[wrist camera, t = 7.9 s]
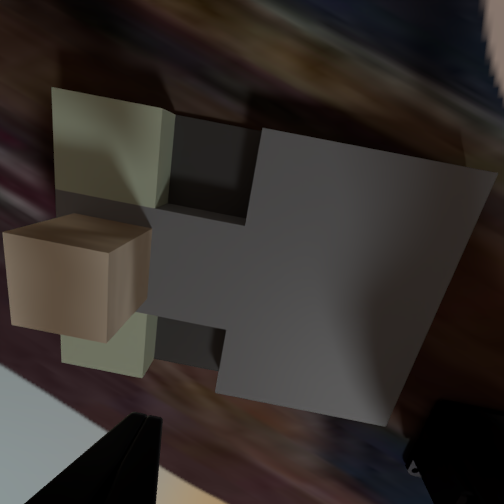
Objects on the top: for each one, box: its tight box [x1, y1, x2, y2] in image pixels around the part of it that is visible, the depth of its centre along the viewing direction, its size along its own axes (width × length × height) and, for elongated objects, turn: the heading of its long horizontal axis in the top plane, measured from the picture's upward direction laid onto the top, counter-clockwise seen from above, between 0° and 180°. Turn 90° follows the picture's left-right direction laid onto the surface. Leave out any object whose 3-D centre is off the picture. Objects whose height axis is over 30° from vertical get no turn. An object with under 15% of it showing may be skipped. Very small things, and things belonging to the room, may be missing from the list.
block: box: [3, 213, 152, 344], centre depth 13 cm, size 4×4×4 cm
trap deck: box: [51, 87, 498, 427], centre depth 16 cm, size 20×15×2 cm
